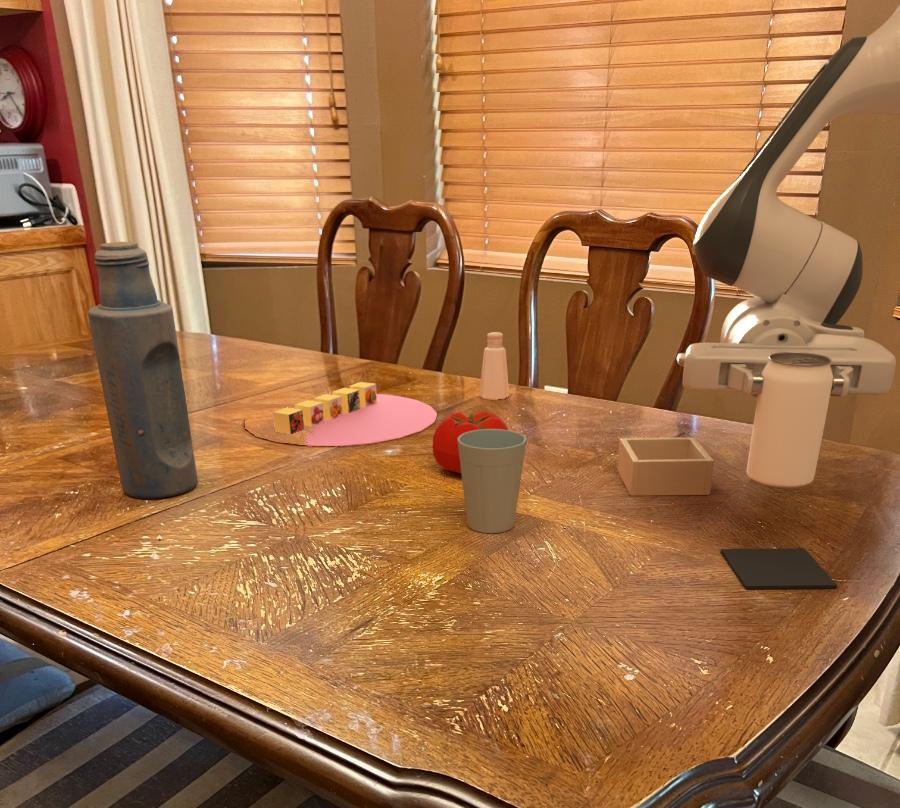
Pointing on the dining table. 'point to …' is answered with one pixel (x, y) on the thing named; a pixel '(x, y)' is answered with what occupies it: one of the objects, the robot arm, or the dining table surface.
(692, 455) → the caddy
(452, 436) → the tomato
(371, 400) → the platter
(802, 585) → the mat
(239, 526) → the dining table surface
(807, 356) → the can
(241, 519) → the dining table surface
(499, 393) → the salt shaker
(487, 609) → the dining table surface
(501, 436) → the cup
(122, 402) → the bottle
